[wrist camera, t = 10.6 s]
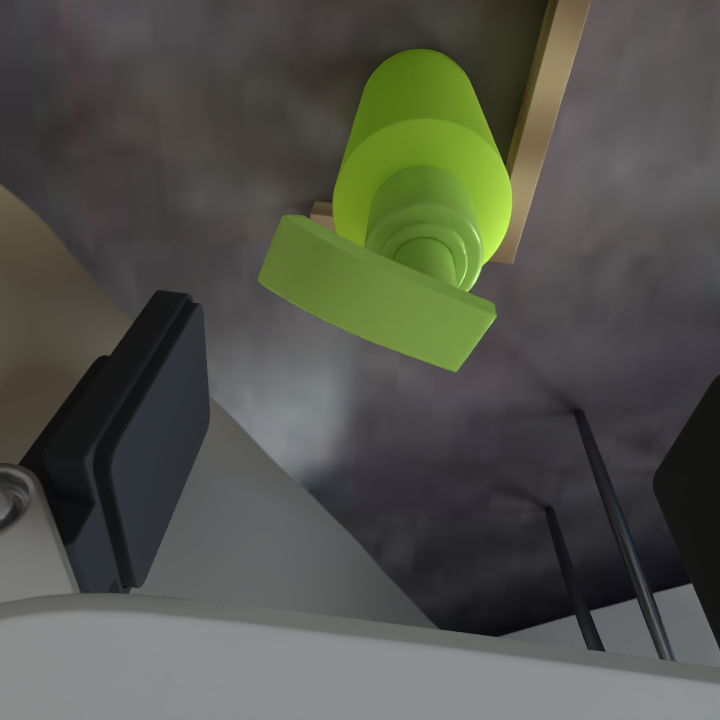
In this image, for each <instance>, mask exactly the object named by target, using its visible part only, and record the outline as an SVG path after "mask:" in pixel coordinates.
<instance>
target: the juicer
mask: <svg viewBox="0 0 720 720" xmlns="http://www.w3.org/2000/svg"><path fill="white" fill-rule="evenodd" d="M574 416H575V419H576V422H577V426H578V429H579V432H580V435H581V438H582V441H583V444H584V447H585V451H586V454H587V457H588V460H589V463H590V466H591V469H592V472H593V475H594V478H595V481H596V484H597V487H598V490H599V493H600V496H601V499H602V502H603V505H604V508H605V510H606V513H607V516H608V519H609V522H610V525H611V528H612V531H613V533H614V536H615V539H616V542H617V545H618V548H619V550H620V553H621V556H622V559H623V561H624V564H625V567H626V570H627V572H628V575H629V578H630V581H631V583H632V586H633V589H634V592H635V594H636V597H637V600H638V602H639V605H640V608H641V611H642V613H643V616H644V618H645V621H646V624H647V627H648V630H649V632H650V635H651V638H652V640H653V643H654V646H655V648H656V651H657V654H658V656H659V659H661V660H669V661H676V662H677V660H676V657H675V655H674V652H673V649H672V646H671V644H670V641H669V638H668V635H667V633H666V630H665V627H664V624H663V622H662V619H661V616H660V613H659V611H658V608H657V605H656V602H655V600H654V597H653V594H652V591H651V588H650V586H649V583H648V580H647V577H646V574H645V572H644V569H643V566H642V563H641V561H640V558H639V555H638V552H637V550H636V547H635V544H634V541H633V539H632V536H631V533H630V531H629V528H628V525H627V522H626V520H625V517H624V514H623V512H622V509H621V506H620V504H619V501H618V498H617V496H616V493H615V491H614V488H613V485H612V483H611V480H610V477H609V475H608V472H607V470H606V467H605V464H604V462H603V459H602V457H601V454H600V451H599V449H598V446H597V444H596V441H595V439H594V436H593V433H592V431H591V428H590V426H589V423H588V421H587V418H586V416H585V413H584V411H583V410H576V411H575V412H574ZM545 513H546V517H547V521H548V525H549V529H550V532H551V536H552V540H553V544H554V547H555V551H556V554H557V558H558V561H559V565H560V568H561V571H562V575H563V578H564V581H565V584H566V588H567V591H568V594H569V597H570V600H571V603H572V606H573V609H574V612H575V615H576V618H577V621H578V623H579V626H580V629H581V632H582V635H583V638H584V640H585V643H586V646H587V649H588V650H595V651H603V652H606V651H605V649H604V647H603V644H602V642H601V639H600V637H599V634H598V632H597V629H596V627H595V624H594V622H593V619H592V616H591V614H590V611H589V609H588V606H587V603H586V601H585V598H584V595H583V593H582V590H581V587H580V585H579V582H578V579H577V576H576V574H575V571H574V568H573V565H572V562H571V559H570V556H569V554H568V551H567V548H566V545H565V542H564V539H563V536H562V533H561V529H560V526H559V523H558V520H557V517H556V514H555V511H554V508H552V507H548V508H546V510H545Z"/></svg>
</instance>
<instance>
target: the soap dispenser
mask: <svg viewBox="0 0 720 720" xmlns="http://www.w3.org/2000/svg"><path fill="white" fill-rule="evenodd" d="M332 211H333V220H334V225H335V229H336V233H337V234H336V233H334V232H332V231H330V230H329V229H327V228H325V227H323V226H321V225H320V224H318V223H316V222H314V221H313V220H311V219H309V218H307V217H305V216H303V215H283V216H282V218H281V220H280V223H279V225H278V228H277V230H276V233H275V235H274V238H273V240H272V243H271V245H270V248H269V250H268V253H267V256H266V258H265V261H264V263H263V266H262V268H261V271H260V274H259V276H258V281H259V283H260V284H262V285H263V286H265V287H266V288H268V289H269V290H271V291H272V292H274V293H276V294H277V295H279V296H281V297H282V298H284V299H286V300H288V301H289V302H291V303H293V304H294V305H296V306H298V307H300V308H302V309H303V310H305V311H307V312H309V313H311V314H313V315H314V316H316V317H318V318H320V319H322V320H324V321H326V322H328V323H330V324H332V325H334V326H336V327H339V328H341V329H343V330H345V331H347V332H350V333H352V334H354V335H356V336H359V337H361V338H364V339H366V340H368V341H371V342H373V343H376V344H378V345H381V346H384V347H386V348H389V349H391V350H394V351H397V352H399V353H402V354H405V355H408V356H410V357H413V358H416V359H419V360H422V361H424V362H427V363H430V364H433V365H436V366H439V367H441V368H444V369H447V370H450V371H453V372H457V371H458V369H459V368H460V367H461V365H462V364H463V362H464V361H465V360H466V358H467V357H468V355H469V354H470V353H471V351H472V350H473V349H474V347H475V346H476V344H477V343H478V342H479V340H480V339H481V337H482V336H483V335H484V333H485V332H486V331H487V329H488V328H489V326H490V325H491V324H492V322H493V321H494V319H495V318H496V316H497V314H496V309H495V305H494V303H492V302H490V301H487V300H485V299H482V298H480V297H478V296H475V295H473V294H470V293H468V291H469V290H470V289H471V288H472V287H473V285H474V284H475V282H476V281H477V279H478V277H479V274H480V272H481V268H482V266H483V265H484V264H485V263H486V262H487V261H488V260H489V259H490V258H491V256H492V255H493V254H494V253H495V251H496V250H497V249H498V247H499V245H500V244H501V242H502V240H503V238H504V236H505V234H506V231H507V228H508V225H509V222H510V218H511V211H512V190H511V184H510V180H509V177H508V173H507V171H506V168H505V166H504V163H503V161H502V158H501V156H500V153H499V151H498V149H497V146H496V144H495V141H494V139H493V136H492V134H491V131H490V129H489V126H488V124H487V121H486V119H485V117H484V114H483V112H482V109H481V107H480V104H479V102H478V99H477V97H476V94H475V92H474V89H473V87H472V85H471V82H470V80H469V78H468V76H467V75H466V73H465V72H464V70H463V69H462V68H461V67H460V66H459V65H458V64H457V63H456V62H455V61H454V60H453V59H451V58H450V57H448V56H447V55H445V54H443V53H440V52H438V51H434V50H430V49H410V50H406V51H402V52H400V53H397V54H395V55H393V56H391V57H390V58H388V59H387V60H385V61H384V62H383V63H382V64H381V65H380V66H378V68H377V69H376V70H375V71H374V72H373V74H372V75H371V76H370V78H369V80H368V81H367V83H366V85H365V88H364V90H363V93H362V97H361V100H360V103H359V107H358V110H357V114H356V117H355V120H354V124H353V127H352V130H351V134H350V137H349V140H348V144H347V147H346V151H345V154H344V157H343V161H342V164H341V167H340V171H339V174H338V177H337V181H336V184H335V188H334V193H333V203H332Z"/></svg>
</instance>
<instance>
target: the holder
mask: <svg viewBox="0 0 720 720" xmlns="http://www.w3.org/2000/svg"><path fill="white" fill-rule="evenodd" d="M591 1H592V0H548V3H547V7H546V11H545V15H544V19H543V22H542V26H541V30H540V34H539V38H538V42H537V45H536V49H535V53H534V57H533V61H532V65H531V68H530V72H529V76H528V80H527V84H526V88H525V91H524V95H523V99H522V103H521V107H520V111H519V114H518V118H517V122H516V126H515V130H514V134H513V137H512V141H511V145H510V149H509V153H508V157H507V160H506V164H505V168H506V171H507V173H508V177H509V180H510V184H511V190H512V211H511V218H510V222H509V225H508V228H507V231H506V234H505V236H504V238H503V240H502V242H501V244H500V245H499V247H498V249H497V250H496V251H495V253H494V254H493V255H492V256H491V258H490V259H489V260H488V261H491V262H499V263H506V264H513V261H514V258H515V255H516V251H517V248H518V245H519V241H520V238H521V235H522V231H523V228H524V225H525V221H526V218H527V215H528V211H529V208H530V205H531V201H532V198H533V195H534V191H535V188H536V185H537V181H538V178H539V175H540V171H541V168H542V165H543V161H544V158H545V155H546V151H547V148H548V145H549V141H550V138H551V135H552V131H553V128H554V125H555V121H556V118H557V115H558V111H559V108H560V105H561V101H562V98H563V95H564V91H565V88H566V85H567V81H568V78H569V74H570V71H571V68H572V64H573V61H574V58H575V54H576V51H577V48H578V44H579V41H580V38H581V34H582V31H583V28H584V24H585V21H586V18H587V14H588V11H589V8H590V4H591ZM310 219H311V220H313V221H314V222H316V223H318V224H320V225H321V226H323V227H325V228H327V229H329V230H330V231H332V232H334V233H336V229H335V225H334V220H333V211H332V203H330V202H323V201H315V202H314V205H313V208H312V210H311V213H310ZM336 234H337V233H336Z"/></svg>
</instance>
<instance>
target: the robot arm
mask: <svg viewBox="0 0 720 720" xmlns="http://www.w3.org/2000/svg"><path fill="white" fill-rule="evenodd" d="M209 419H210V406H209V391H208V376H207V361H206V346H205V331H204V316H203V307H202V305H201V304H199V303H193V298H192V296H191V295H190V294H185V293H178V292H170V291H163V290H158V291H156V292H155V293H154V295H153V296H152V298H151V299H150V300H149V302H148V303H147V305H146V306H145V307H144V309H143V310H142V312H141V313H140V314H139V316H138V317H137V319H136V320H135V321H134V323H133V324H132V326H131V327H130V328H129V330H128V331H127V333H126V334H125V336H124V337H123V338H122V340H121V341H120V342H119V344H118V345H117V347H116V348H115V350H114V351H113V352H112V354H111V356H105V355H103V356H101V357H99V358H98V359H96V361H95V362H94V363H93V364H92V365H91V367H90V368H89V369H88V371H87V372H86V374H85V375H84V376H83V378H82V379H81V380H80V381H79V383H78V384H77V385H76V387H75V388H74V390H73V391H72V392H71V394H70V395H69V396H68V398H67V399H66V400H65V402H64V403H63V404H62V406H61V407H60V409H59V410H58V411H57V413H56V414H55V415H54V417H53V418H52V419H51V421H50V422H49V423H48V425H47V426H46V428H45V429H44V430H43V431H42V433H41V434H40V436H39V437H38V438H37V440H36V441H35V442H34V444H33V445H32V446H31V448H30V449H29V451H28V452H27V453H26V455H25V456H24V457H23V459H22V460H21V461H20V463H19V464H18V465H13V464H9V463H0V720H720V668H719V667H712V666H705V665H697V664H690V663H682V662H676V661H669V660H661V659H654V658H647V657H639V656H632V655H625V654H617V653H610V652H603V651H595V650H588V649H580V648H573V647H565V646H558V645H550V644H543V643H536V642H528V641H520V640H513V639H505V638H498V637H491V636H483V635H476V634H468V633H460V632H453V631H445V630H438V629H430V628H422V627H415V626H406V625H399V624H391V623H383V622H376V621H367V620H360V619H352V618H344V617H336V616H329V615H321V614H312V613H305V612H298V611H290V610H282V609H273V608H265V607H257V606H247V605H239V604H230V603H221V602H212V601H202V600H193V599H185V598H175V597H167V596H152V595H136V594H129V592H130V590H131V588H132V587H134V588H140V587H141V586H142V585H143V583H144V582H145V580H146V578H147V575H148V573H149V570H150V568H151V565H152V563H153V561H154V558H155V556H156V554H157V551H158V549H159V546H160V544H161V541H162V539H163V537H164V534H165V532H166V529H167V527H168V524H169V522H170V520H171V517H172V515H173V512H174V510H175V508H176V505H177V503H178V500H179V498H180V495H181V493H182V491H183V488H184V486H185V483H186V481H187V478H188V476H189V473H190V471H191V469H192V467H193V464H194V461H195V459H196V457H197V455H198V452H199V450H200V447H201V445H202V442H203V440H204V438H205V435H206V433H207V430H208V426H209ZM653 490H654V493H655V496H656V498H657V501H658V503H659V505H660V508H661V510H662V512H663V515H664V517H665V520H666V522H667V524H668V527H669V529H670V532H671V534H672V536H673V539H674V541H675V544H676V546H677V548H678V551H679V553H680V555H681V558H682V560H683V563H684V565H685V567H686V570H687V572H688V575H689V577H690V579H691V582H692V584H693V587H694V589H695V591H696V594H697V596H698V598H699V600H700V603H701V605H702V608H703V610H704V613H705V615H706V618H707V620H708V622H709V625H710V627H711V630H712V632H713V634H714V636H715V639H716V641H717V644H718V646H719V649H720V375H718V376H717V377H716V378H715V379H714V380H713V382H712V383H711V385H710V386H709V388H708V390H707V391H706V393H705V394H704V396H703V398H702V399H701V401H700V402H699V404H698V405H697V407H696V409H695V410H694V412H693V413H692V415H691V417H690V418H689V420H688V421H687V423H686V425H685V426H684V428H683V429H682V431H681V433H680V434H679V436H678V437H677V439H676V441H675V442H674V444H673V445H672V447H671V449H670V450H669V452H668V453H667V455H666V457H665V458H664V460H663V461H662V463H661V465H660V466H659V468H658V469H657V471H656V473H655V475H654V479H653Z"/></svg>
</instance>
